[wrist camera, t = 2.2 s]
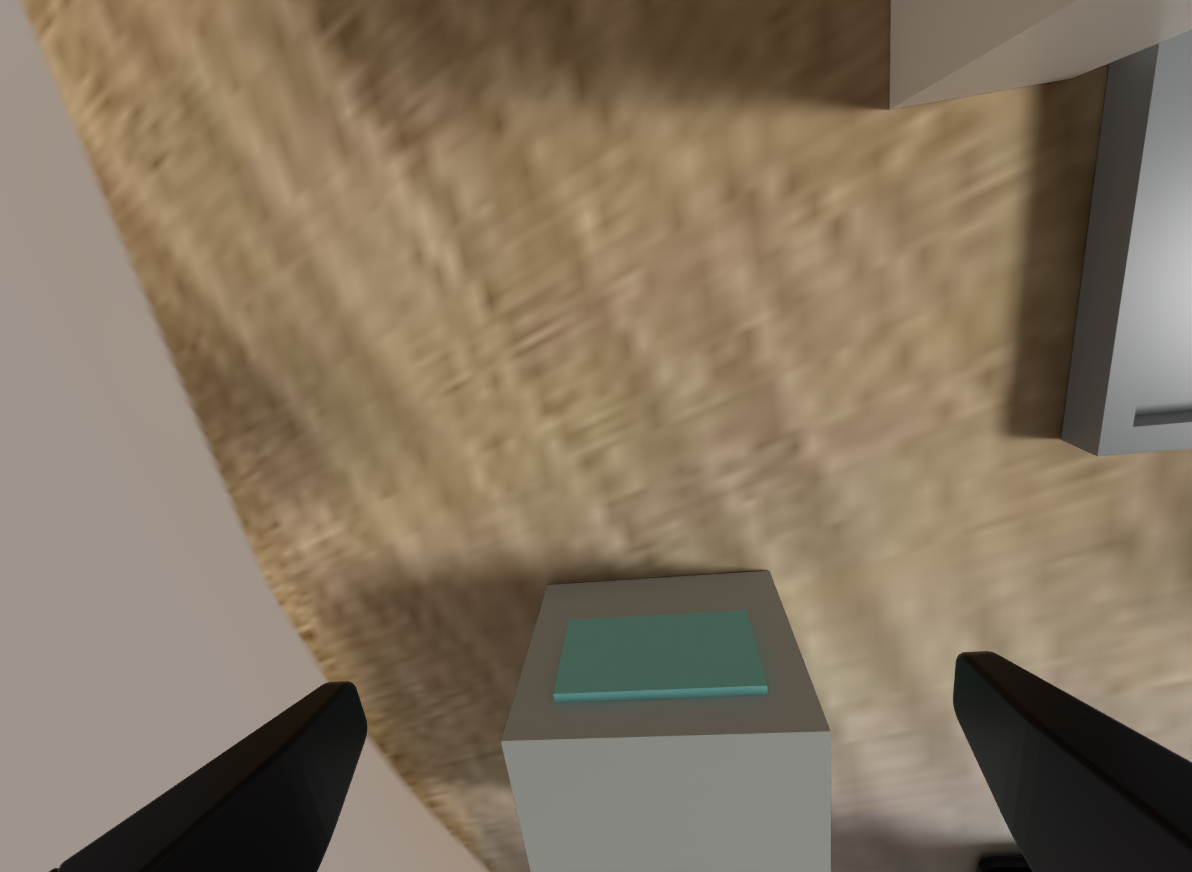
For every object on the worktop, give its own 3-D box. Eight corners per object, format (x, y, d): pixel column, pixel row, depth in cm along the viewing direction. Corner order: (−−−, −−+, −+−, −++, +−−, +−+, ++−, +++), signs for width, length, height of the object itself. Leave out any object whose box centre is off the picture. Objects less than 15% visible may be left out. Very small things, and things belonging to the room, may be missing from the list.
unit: (778, 786, 23) (838, 1032, 16) (583, 789, 24) (556, 1022, 17) (769, 563, 20) (838, 742, 13) (546, 577, 21) (492, 751, 14)
